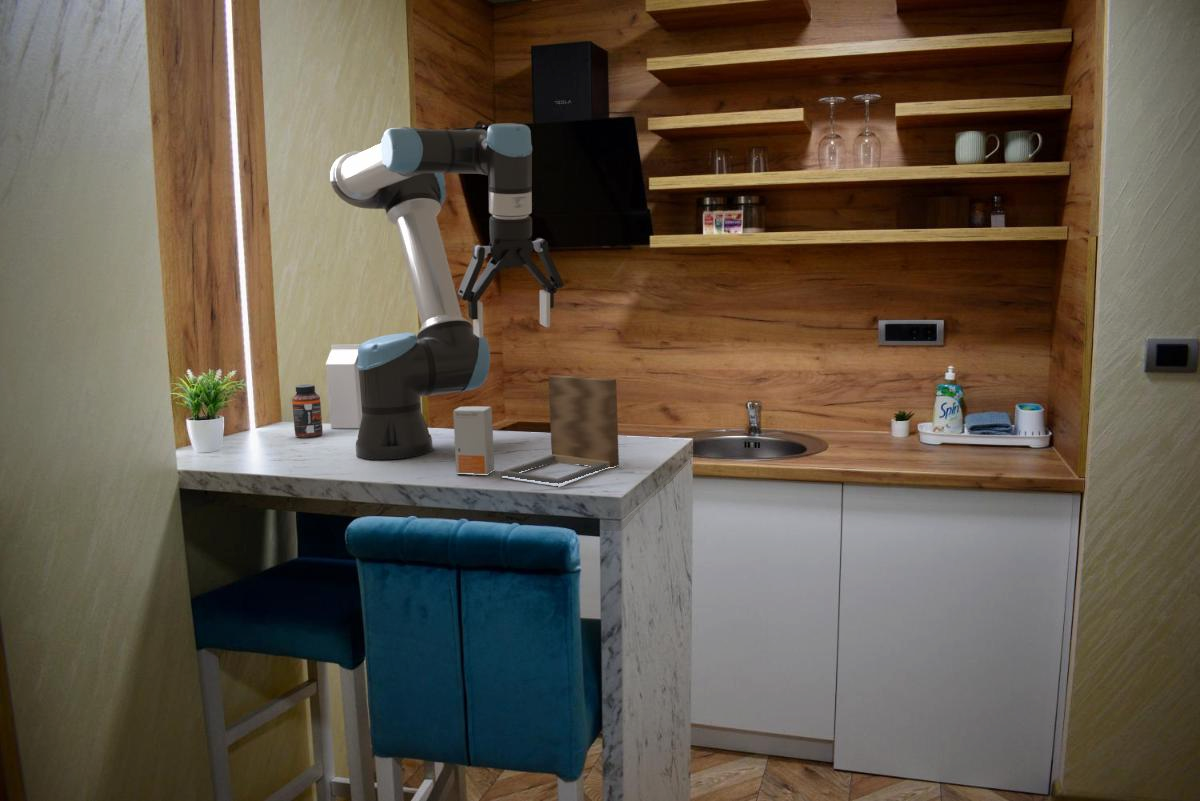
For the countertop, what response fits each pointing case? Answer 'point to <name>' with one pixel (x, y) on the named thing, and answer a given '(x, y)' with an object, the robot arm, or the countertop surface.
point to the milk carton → (344, 386)
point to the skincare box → (474, 440)
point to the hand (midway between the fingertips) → (512, 330)
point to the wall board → (584, 417)
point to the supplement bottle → (307, 412)
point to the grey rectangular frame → (594, 464)
